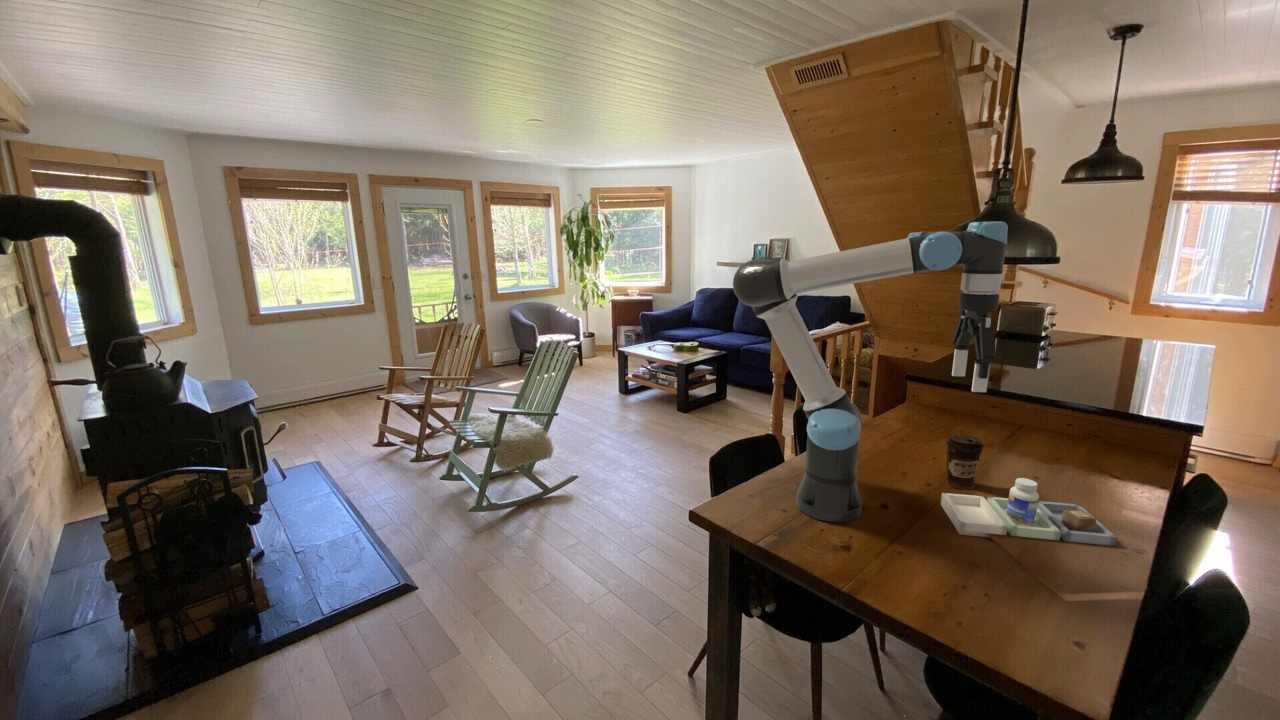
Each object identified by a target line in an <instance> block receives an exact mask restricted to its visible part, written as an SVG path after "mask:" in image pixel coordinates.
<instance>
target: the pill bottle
mask: <svg viewBox="0 0 1280 720" xmlns="http://www.w3.org/2000/svg"><path fill="white" fill-rule="evenodd" d="M1014 482H1015V483H1014V486H1012V487H1011V488H1010V489H1009V493H1008V505H1007V510H1006V514H1007V515H1008V516H1009V518H1010V519H1011V520H1012V521H1013V522H1014V524H1016V525H1019V526H1032V525H1034V523H1035V518H1036V512H1037V506H1038V501H1040V495H1039V493H1038V492H1037V490H1038V483H1037V482H1036V481H1034V480H1032V479H1031V478H1026V477H1018V478H1016V479H1015V481H1014Z"/></svg>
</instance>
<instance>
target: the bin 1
mask: <svg viewBox="0 0 1280 720" xmlns="http://www.w3.org/2000/svg"><path fill="white" fill-rule="evenodd" d="M940 506H941V507H942V509H943V511H944V512H945V513H946V515H947V517H948V518H949V520H950V521H951V523H952V524H953V527H954V528H955V529H956V531H957V533H958V535H961V536H972V537H980V538H992V536H990V535H1001V536H1007V532H1008V531H1007V525H1006V524H1005V523H1004V522H1003V521H1002V519H1001V518H1000V517H999V516H998V514H997V513H996V512H995V511H994V509H993V508H992V507H991V506H990V504H989V503H988V502H987V499H986V498H985V497H984V496H983V495H970V494H960V493H948V492H947V493H946V492H941V496H940Z"/></svg>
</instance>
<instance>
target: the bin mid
mask: <svg viewBox="0 0 1280 720" xmlns="http://www.w3.org/2000/svg"><path fill="white" fill-rule="evenodd" d="M1008 499H1009V497H1006V498H1005V497H998V496H997V497H996V496H995V497H994V496H987V499H986V501H987V502H988V503H989V504H990V506H991V507H992V508H993V509H994V511H995V512H996V513H997V514H998V516H999V517H1000V518H1001V519H1002V521H1003V522H1004V523H1005V524H1006V525H1007V532H1008V534H1009V535H1010V536H1012V537H1020V538H1031V539H1039V540H1041V539H1042V540H1049V541H1050V540H1051V541H1060V538H1061V537H1060V534H1061V531H1060V530H1059V529H1058V528H1057V527H1056V526H1055V525H1054V524H1053V523H1052V522H1051V521H1050V520H1049V519H1048V518H1047V517H1046V516H1045V515H1044V514H1043V513H1042V512H1041V511H1040V510H1039V509H1038V508H1037V512H1036V518H1035V523H1034V525H1032V526H1019V525H1016V524H1014V522H1013V521H1012V520H1011V519H1010V518H1009V516H1008V515H1007V514H1006V510H1007V505H1008Z"/></svg>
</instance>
